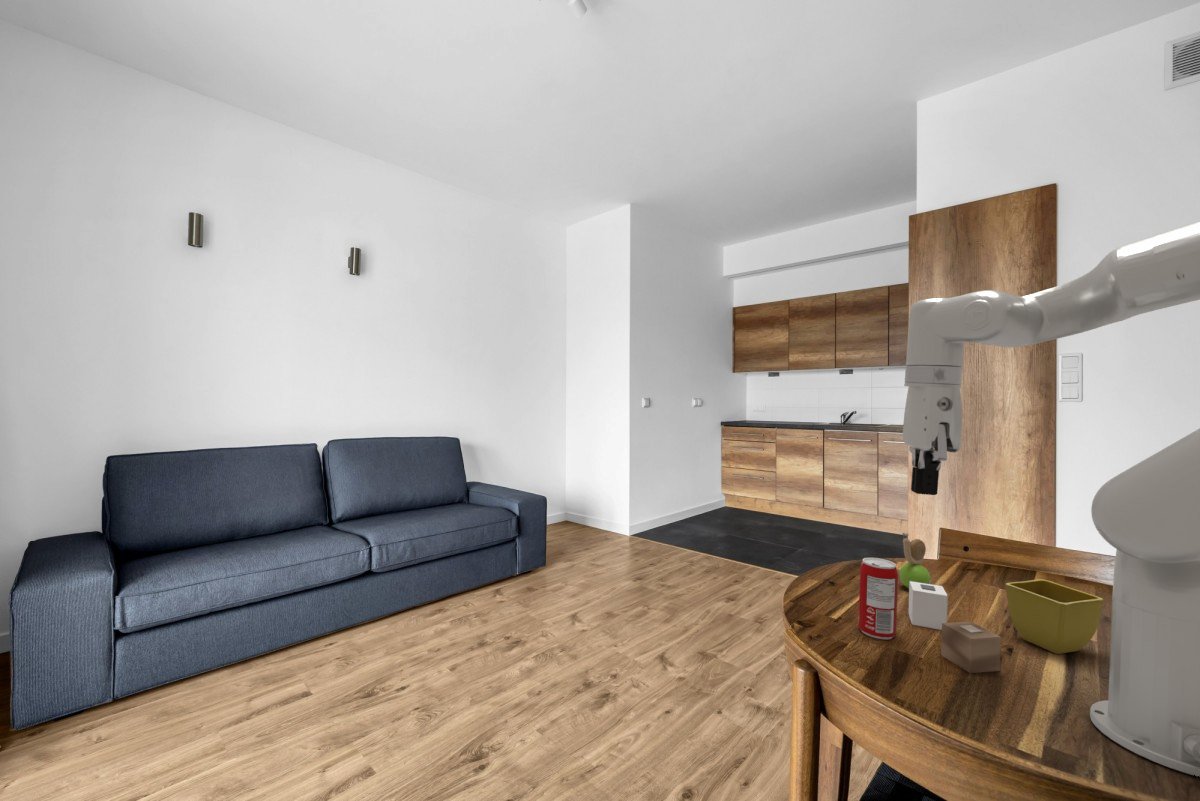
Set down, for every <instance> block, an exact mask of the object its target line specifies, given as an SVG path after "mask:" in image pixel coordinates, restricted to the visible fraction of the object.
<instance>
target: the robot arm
mask: <svg viewBox="0 0 1200 801" xmlns="http://www.w3.org/2000/svg"><path fill="white" fill-rule="evenodd" d="M1199 300H1200V220H1199V221H1196V222H1192V223H1190V224H1187V225H1184V226H1180V227H1177V228H1175V229H1171V230H1168V231H1164V232H1162V233H1159V234H1158V233H1157V235H1156V234H1155V235H1152V236H1149V237H1146V238H1144V239H1140V240H1136V241H1134V242H1130V243H1126V244H1124V245H1121V246H1119V247H1117V248H1115V249H1113V250H1112V251H1110V252H1109V253H1107V254H1106V255H1105V256H1104V257H1103V258H1102V260H1100V261H1099V263H1098V264H1097V265H1096V266H1095V267H1094V268H1093V269H1092V270H1090V271H1089V272H1087V273H1085V274H1083V275H1082V276H1079V277H1077V278H1075V279H1073V280H1071V281H1067V282H1065V283H1063V284H1060V285H1057V286H1054V287H1050V288H1047V289H1044V290H1041V291H1040V290H1039V291H1037V292H1034V293H1030V294H1027V295H1022V296H1019V295H1016V294H1011V293H1007V292H1005V291H1000V290H993V289H985V290H977V291H973V292H969V293H965V294H962V295H958V296H952V297H936V298H935V297H934V298H932V297H931V298H926V299H920V300H917V301H915V302H914V303H913V304H912V305H911V306H910V309H909V314H908V315H909V318H908V331H907V332H908V333H907V342H906V343H907V344H906V345H907V346H906V360H905V372H904V387H908V390H907V393H906V400H905V407H904V415H903V424H902V426H903V427H902V441H903V443H904V444H905V445H907V446H909V448H908V450H909V452H910V453H911V466H912V471H911V472H912V473H911V482H910V483H911V485H910V490H911V491H912V493H915V494H917V495H918V494H919V495H928V496H937V494H938V488H939V487H938V486H939V476H940V470H941V466H942V462H946V461H947V460H948V453H954V454H955V453H958V452H959V451H960V450H961V447H962V431H963V430H962V426H963V425H962V424H963V421H962V420H963V418H962V416H963V415H962V414H963V412H962V411H963V410H962V397H961V389H962V380H963V378H962V377H963V364H964V363H963V362H964V354H965V351H964V350H965V342H966V343H971V344H972V343H973V344H981V345H986V346H987V345H988V346H994V347H1001V348H1020V347H1026V346H1027V347H1028V346H1030V345H1035V344H1036V345H1037V344H1040V343H1045V342H1049V341H1053V340H1056V339H1057V340H1058V339H1062V338H1065V337H1070V336H1074V335H1078V334H1082V333H1085V332H1088V331H1092V330H1095V329H1098V328H1101V327H1105V326H1108V325H1110V324H1111V325H1112V324H1114V323H1119V322H1123V321H1126V320H1128V319H1130V318H1133V317H1135V316H1139V315H1142V314H1145V313H1149V312H1150V313H1151V312H1154V311H1158V310H1161V309H1166V308H1170V307H1175V306H1179V305H1182V304H1183V305H1184V304H1188V303H1191V302H1196V301H1199ZM1090 507H1091V511H1090V512H1091V518H1092V522H1093V525H1094V527H1095V529H1096V531H1097V532H1098V534H1099V535H1100V536H1101V537H1102V539H1104V540H1105V542H1107V543H1108V544H1109V545H1110V546H1112V547H1113V548H1114V549H1116V552H1115V557H1114V558H1115V559H1114V566H1113V578H1112V581H1113V582H1112V595H1111V596H1112V597H1111V617H1110V618H1111V621H1110V648H1109V675H1108V676H1109V677H1108V679H1109V680H1108V699H1107V700H1099V701H1096V702H1094V703H1092V704H1091V706H1090V708H1089V717H1090V720H1091V722H1092V723H1093V725H1094V727H1096V728H1097V729H1098V730H1099V731H1100V732H1101V733H1102V734H1103V735H1104V736H1106V737H1107V738H1109V739H1110V740H1112V741H1114V743H1117V744H1118V745H1120V746H1121V747H1123V748H1125V749H1126V750H1129V751H1131V752H1132V753H1135V754H1136V755H1138V756H1140V757H1143V758H1145V759H1147V760H1149V761H1152V762H1153V763H1156V764H1159V765H1162V766H1164V767H1166V768H1169V769H1173V770H1175V771H1178V772H1181V773H1184V774H1187V775H1191V776H1194V775H1195V777H1198V776H1199V778H1200V427H1199V428H1198V429H1195V431H1193V432H1191V433H1189V434H1187V435H1185V436H1184V437H1182V438H1180V439H1179V440H1176V441H1175V442H1173V443H1172V444H1170V445H1168V446H1166V447H1164V448H1163V449H1161V450H1160V451H1157V452H1156V453H1154V454H1152V455H1150V456H1149V457H1147V458H1144V460H1141V461H1140V462H1138V463H1136V464H1134V465H1132V466H1131V467H1129V468H1127V469H1126V470H1124V471H1121V472H1120V473H1119V474H1117V475H1116V476H1114V477H1112V478H1111V479H1108V480H1107V482H1105V483H1104V484H1103V485H1102V486H1100V488H1099V489H1098V490H1097V491H1096V493H1095V496H1094V497H1093V500H1092V502H1091V506H1090Z"/></svg>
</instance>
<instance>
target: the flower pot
mask: <svg viewBox="0 0 1200 801" xmlns="http://www.w3.org/2000/svg"><path fill="white" fill-rule="evenodd" d="M1005 591H1006V600H1007V606H1008V607H1007V608H1008V611H1009V616H1010V618H1011V620H1012V623H1013V625H1014V627H1015V629H1016V630H1017V632H1018V633H1019V635H1020V637H1021V638H1022V639H1023V640H1024V641H1027V642H1029V643H1031V644H1033V645H1036V646H1038V647H1040V648H1043V649H1045V650H1046V651H1049V652H1051V653H1054V654H1057V655H1060V654H1061V655H1062V654H1066V653H1068V654H1069V653H1072V652H1074V653H1075V652H1078V651H1079V652H1080V651H1081V650H1082V649H1083V648H1084V647H1085V646H1086V645H1088V643H1089V642H1090V641H1091V640H1092V639H1093V637H1094V635H1095V634H1096V632H1097V629H1098V626H1099V621H1100V617H1101V613H1102V607H1103V603H1104V598H1102V597H1099V596H1097V595H1094V594H1090V593H1087V592H1085V591H1082V590H1079V589H1075V588H1071V587H1069V586H1066V585H1062V584H1060V583H1056V582H1054V581H1051V580H1047V579H1043V578H1042V579H1041V578H1039V579H1032V580H1024V581H1014V582H1012V581H1011V582H1006V583H1005Z"/></svg>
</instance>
